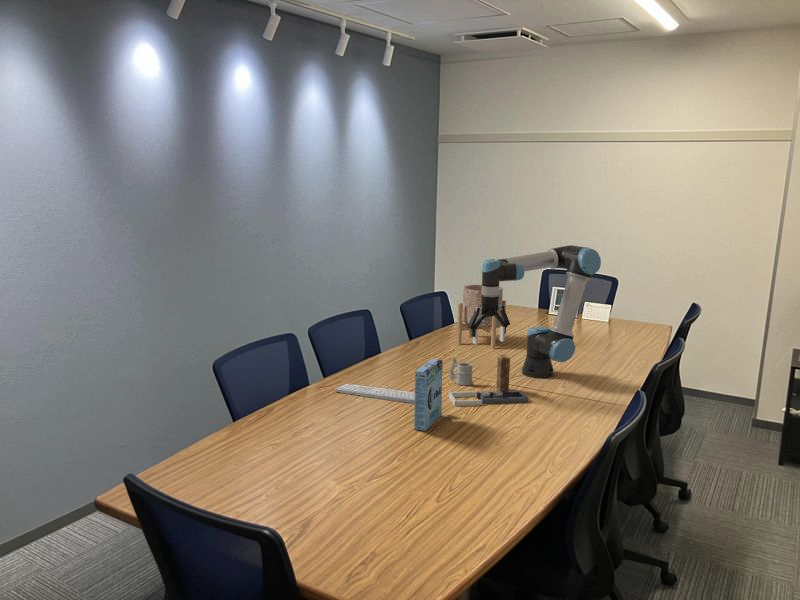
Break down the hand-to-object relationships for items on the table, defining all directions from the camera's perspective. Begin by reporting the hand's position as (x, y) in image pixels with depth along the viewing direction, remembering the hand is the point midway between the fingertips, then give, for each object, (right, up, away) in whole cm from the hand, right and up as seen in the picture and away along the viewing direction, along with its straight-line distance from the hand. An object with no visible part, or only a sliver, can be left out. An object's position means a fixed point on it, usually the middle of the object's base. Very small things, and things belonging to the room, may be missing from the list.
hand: (488, 342), depth 295 cm
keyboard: (-45, -23, -4) cm, 51 cm away
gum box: (-28, -29, -36) cm, 54 cm away
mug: (-11, -20, +12) cm, 26 cm away
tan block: (+6, -22, +1) cm, 23 cm away
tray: (-12, -25, -13) cm, 30 cm away
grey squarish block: (-3, -24, -12) cm, 27 cm away
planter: (+8, -6, +90) cm, 91 cm away
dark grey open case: (+4, -25, -11) cm, 27 cm away
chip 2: (+2, -24, -11) cm, 26 cm away
